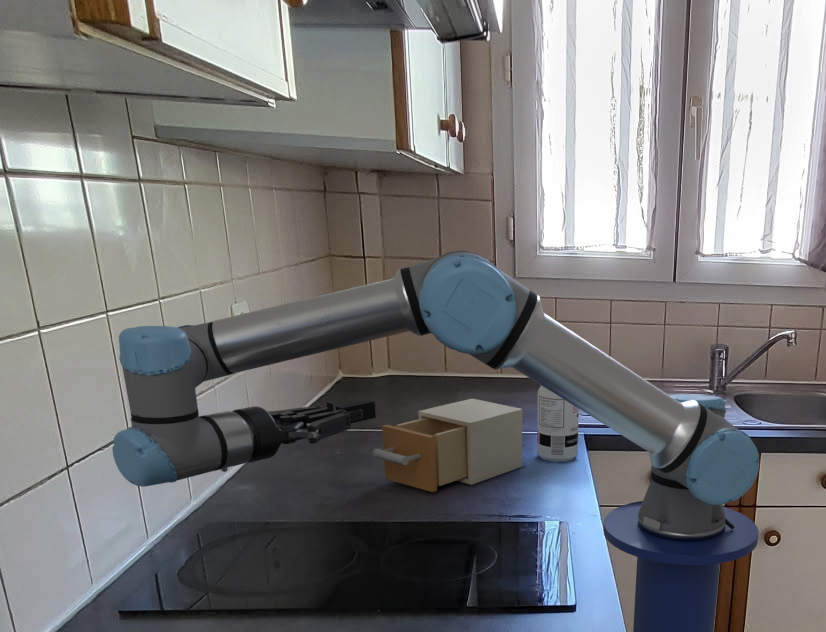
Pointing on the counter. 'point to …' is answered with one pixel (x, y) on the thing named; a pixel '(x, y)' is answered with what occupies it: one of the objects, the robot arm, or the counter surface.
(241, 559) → the counter surface
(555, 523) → the counter surface
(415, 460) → the drawer
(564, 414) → the supplement can
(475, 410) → the cabinet
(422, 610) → the counter surface
